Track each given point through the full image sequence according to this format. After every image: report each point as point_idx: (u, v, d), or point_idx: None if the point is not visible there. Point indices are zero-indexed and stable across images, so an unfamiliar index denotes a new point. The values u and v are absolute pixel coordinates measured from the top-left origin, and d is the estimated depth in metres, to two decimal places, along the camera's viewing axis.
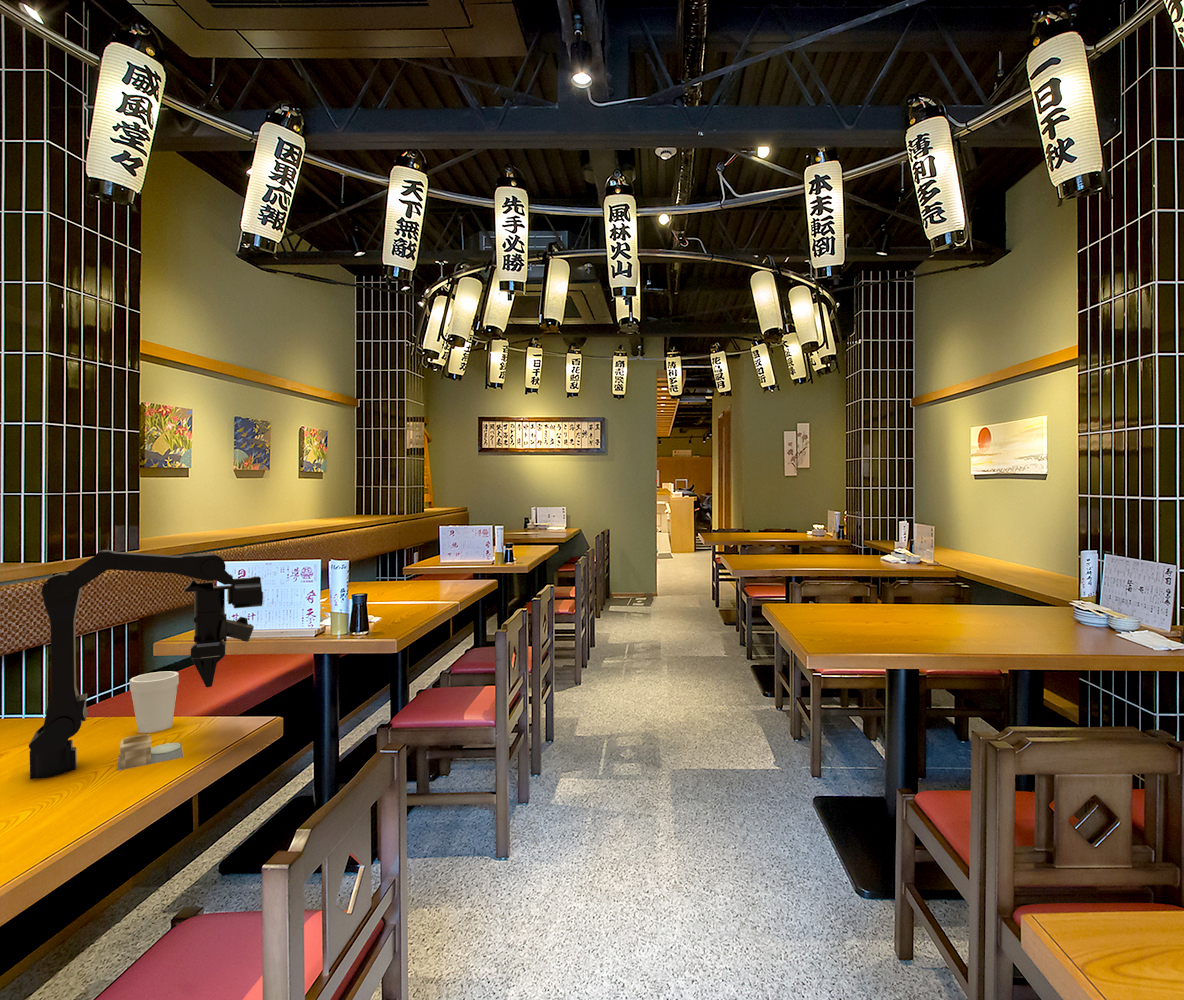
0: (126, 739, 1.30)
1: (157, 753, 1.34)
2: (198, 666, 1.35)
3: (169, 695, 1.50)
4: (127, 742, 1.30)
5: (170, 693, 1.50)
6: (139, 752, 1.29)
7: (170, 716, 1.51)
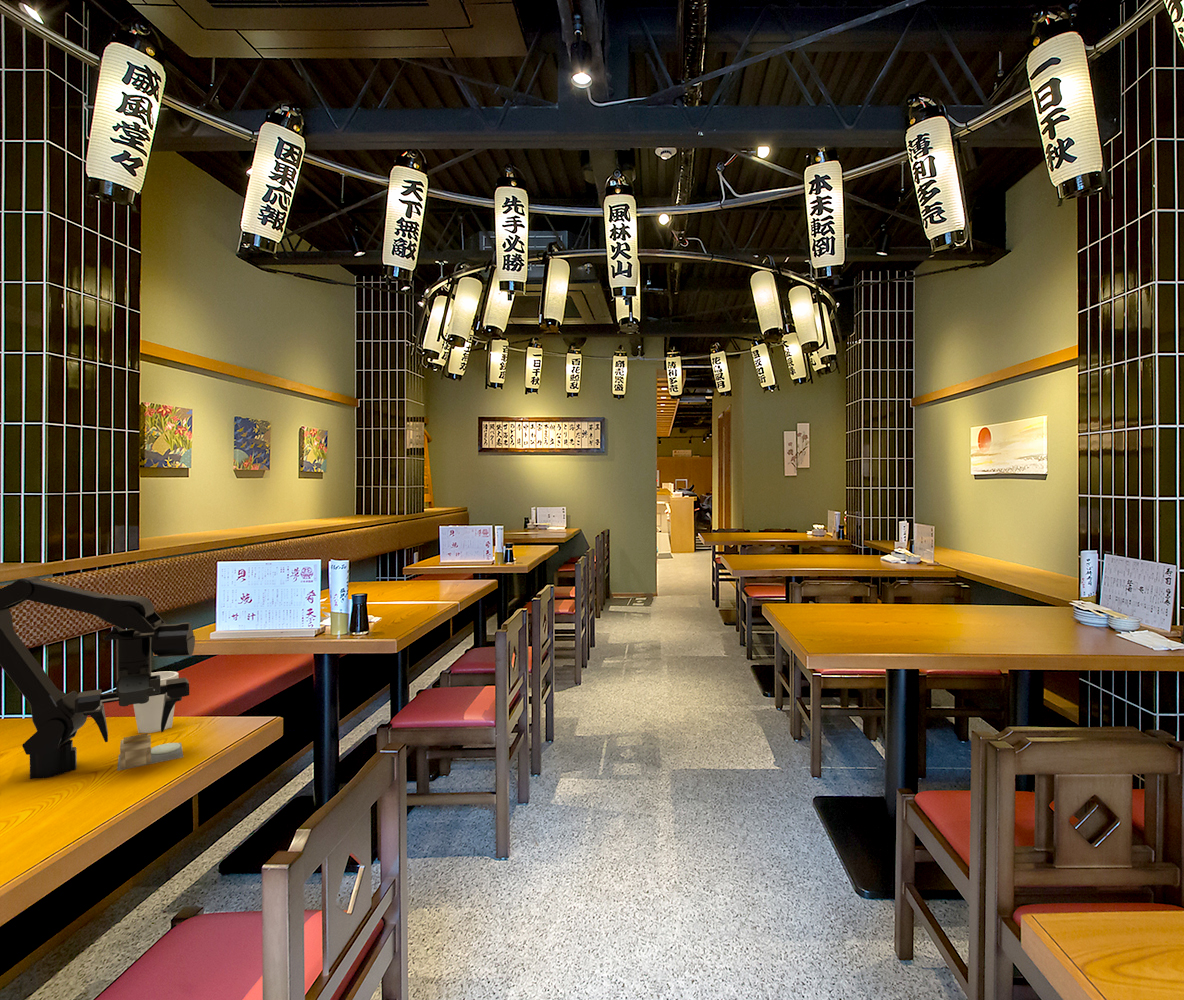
0: (126, 739, 1.30)
1: (157, 753, 1.34)
2: None
3: None
4: (127, 742, 1.30)
5: None
6: (139, 752, 1.29)
7: (170, 716, 1.51)
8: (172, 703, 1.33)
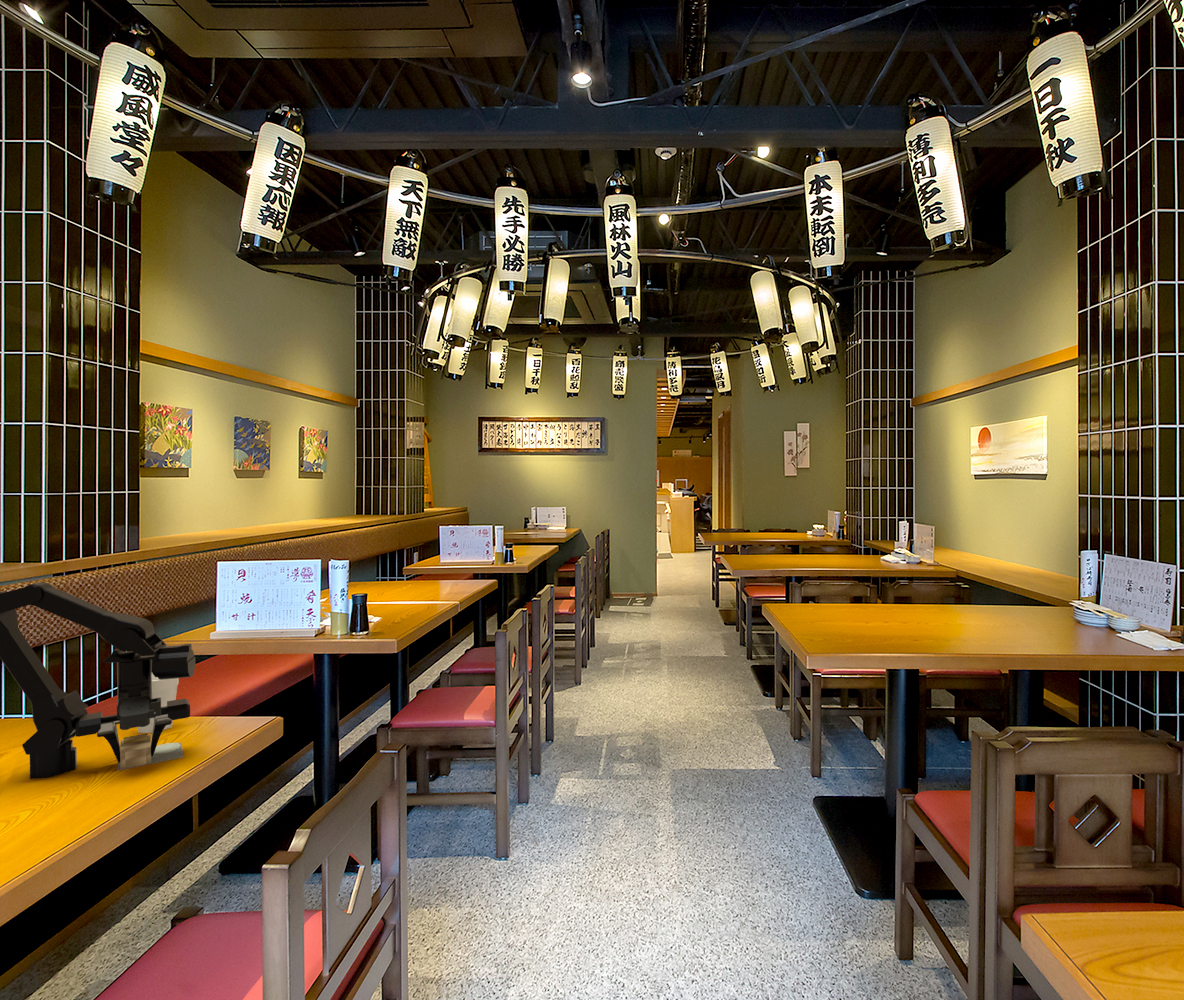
0: (126, 739, 1.30)
1: (157, 753, 1.34)
2: None
3: (169, 695, 1.50)
4: (127, 742, 1.30)
5: (170, 693, 1.50)
6: (139, 752, 1.29)
7: None
8: (162, 727, 1.32)
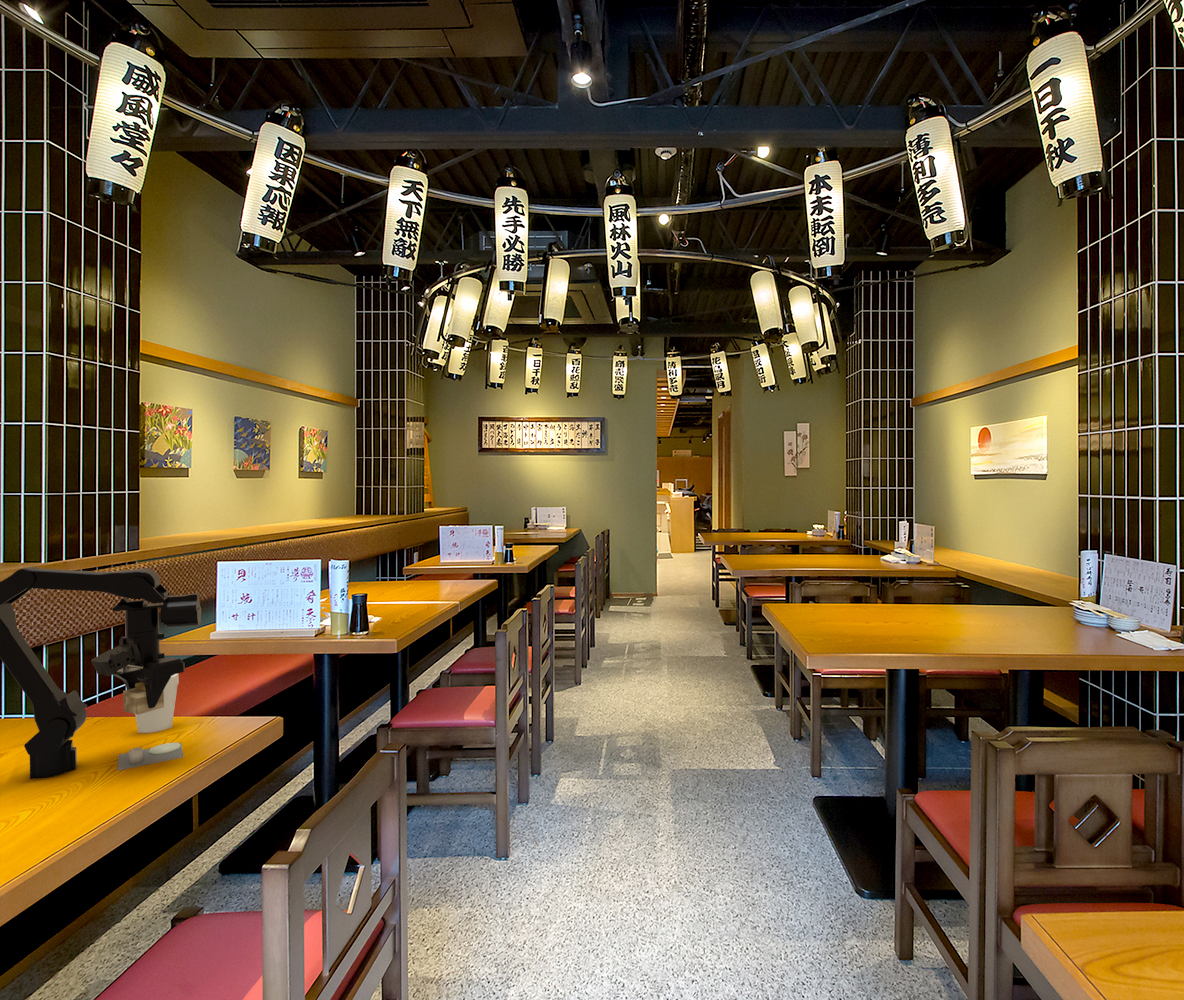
0: (136, 684, 1.33)
1: (157, 753, 1.34)
2: None
3: (169, 695, 1.50)
4: (137, 687, 1.33)
5: (170, 693, 1.50)
6: (132, 701, 1.30)
7: (170, 716, 1.51)
8: (144, 681, 1.29)
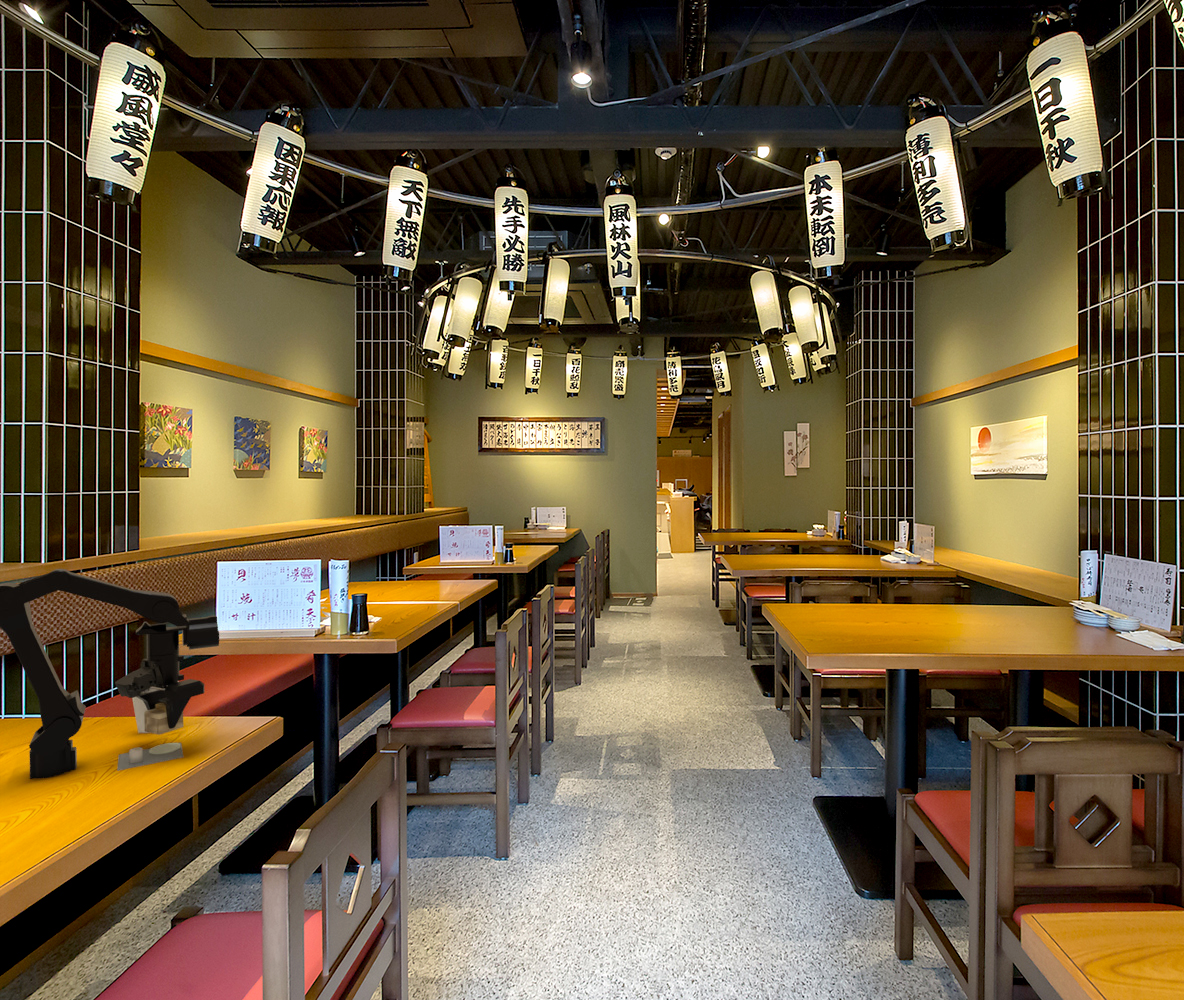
0: (157, 705, 1.37)
1: (157, 753, 1.34)
2: None
3: None
4: (157, 708, 1.37)
5: None
6: (153, 721, 1.35)
7: None
8: (165, 703, 1.33)
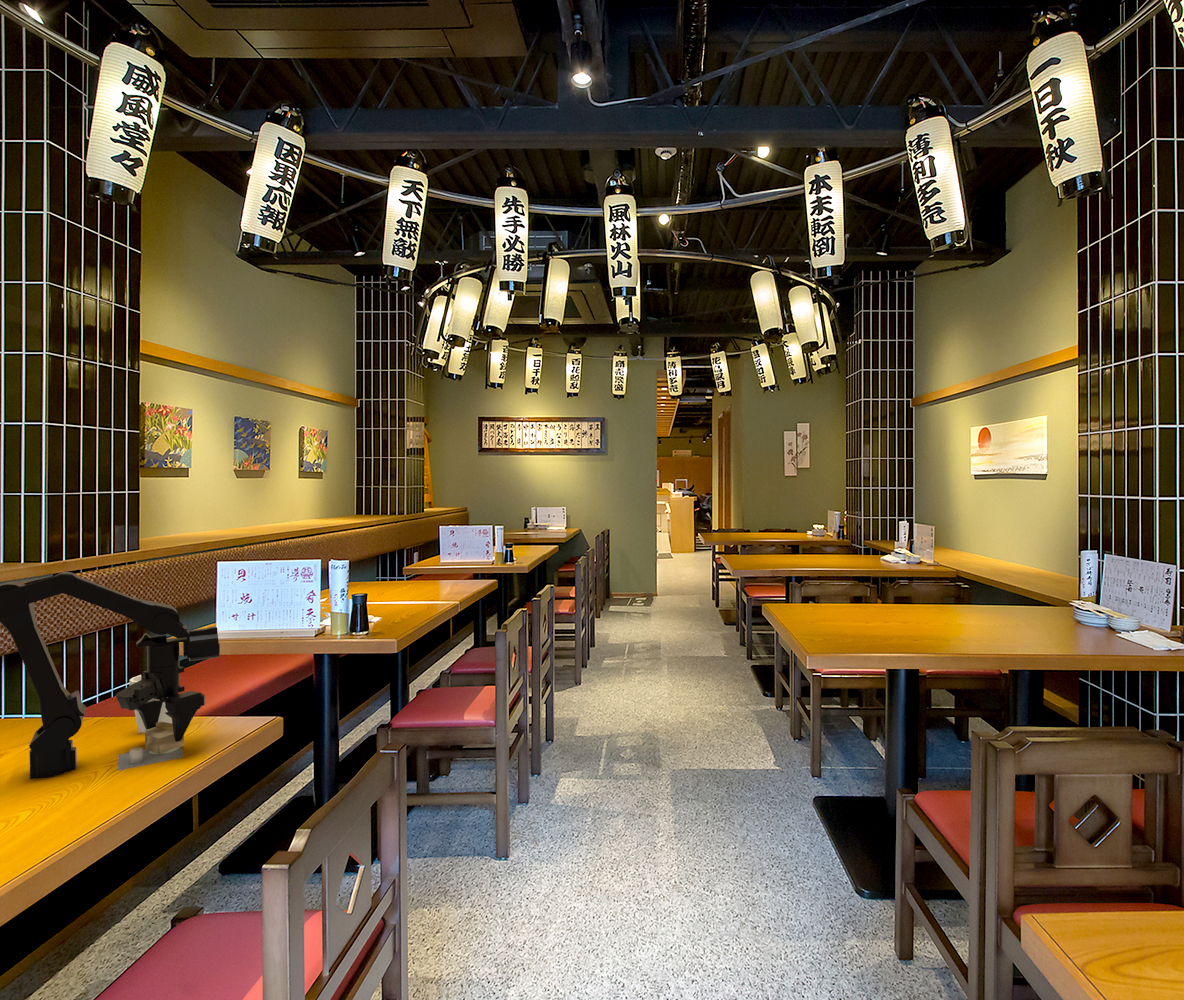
0: (157, 724, 1.37)
1: (157, 753, 1.34)
2: None
3: None
4: (157, 727, 1.37)
5: None
6: (154, 740, 1.35)
7: None
8: (172, 716, 1.32)
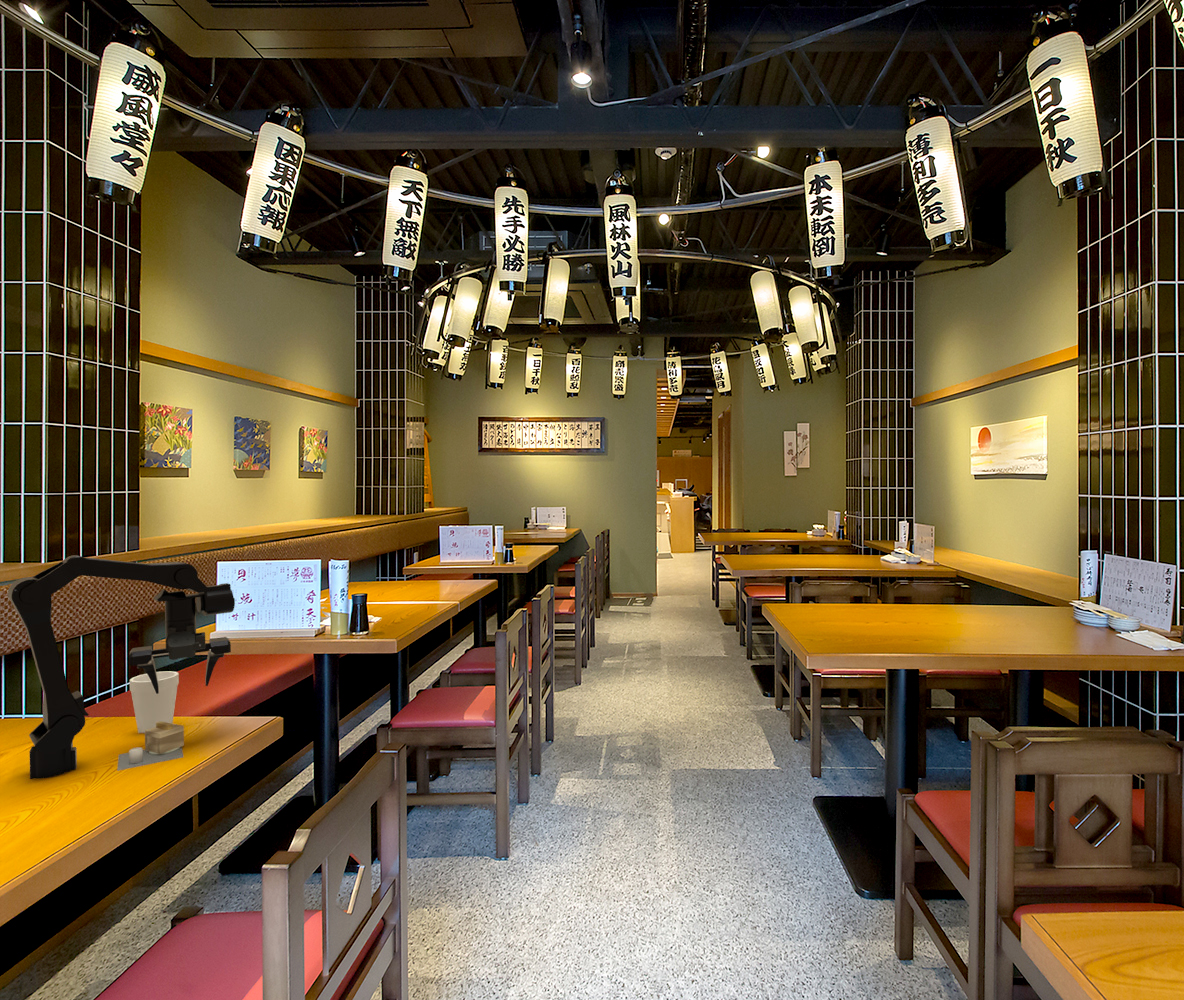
0: (157, 724, 1.37)
1: (157, 753, 1.34)
2: None
3: (169, 695, 1.50)
4: (157, 727, 1.37)
5: (170, 693, 1.50)
6: (154, 740, 1.35)
7: (170, 716, 1.51)
8: (215, 659, 1.44)
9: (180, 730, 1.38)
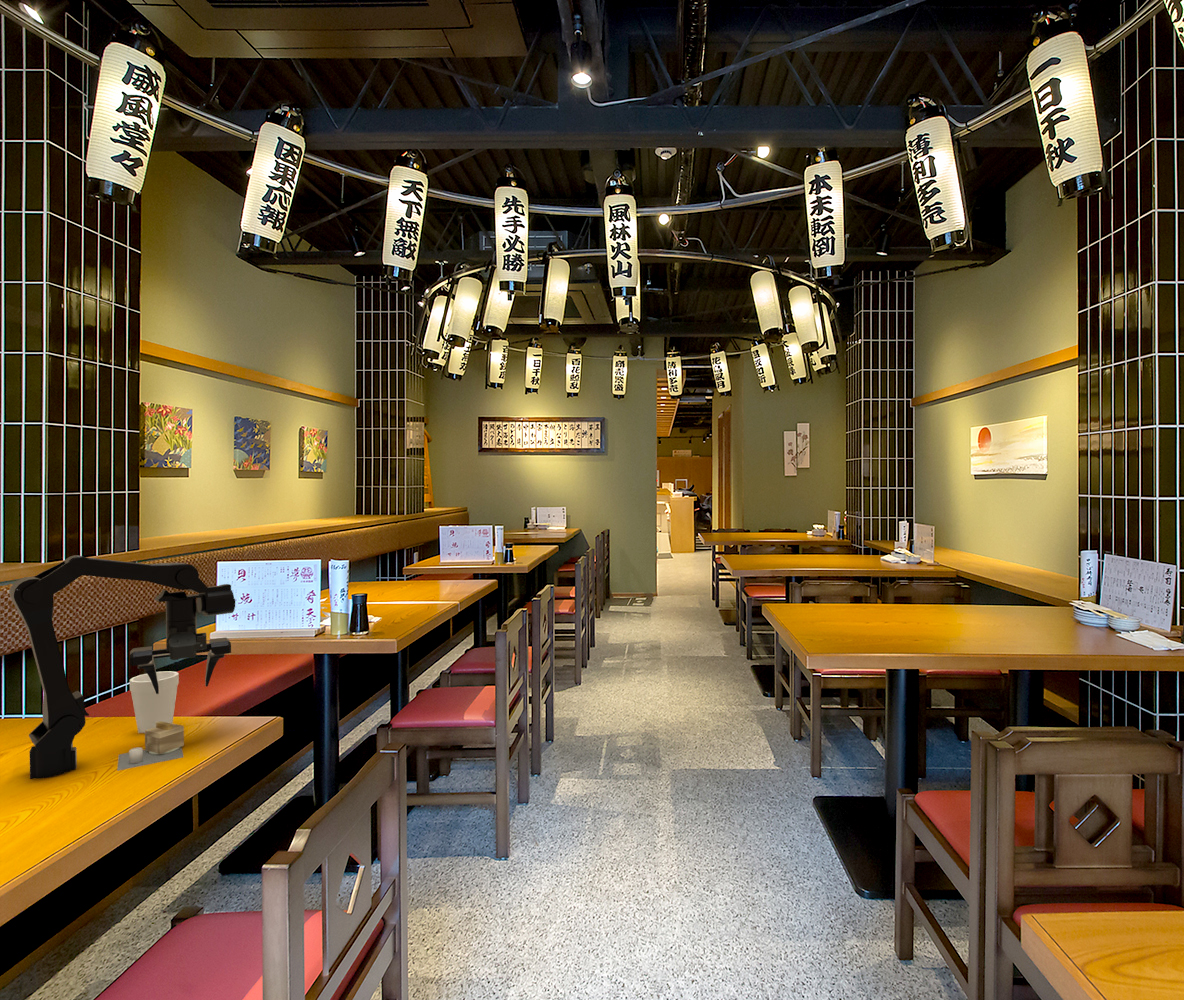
0: (157, 724, 1.37)
1: (157, 753, 1.34)
2: None
3: (169, 695, 1.50)
4: (157, 727, 1.37)
5: (170, 693, 1.50)
6: (154, 740, 1.35)
7: (170, 716, 1.51)
8: (216, 659, 1.45)
9: (180, 730, 1.38)
